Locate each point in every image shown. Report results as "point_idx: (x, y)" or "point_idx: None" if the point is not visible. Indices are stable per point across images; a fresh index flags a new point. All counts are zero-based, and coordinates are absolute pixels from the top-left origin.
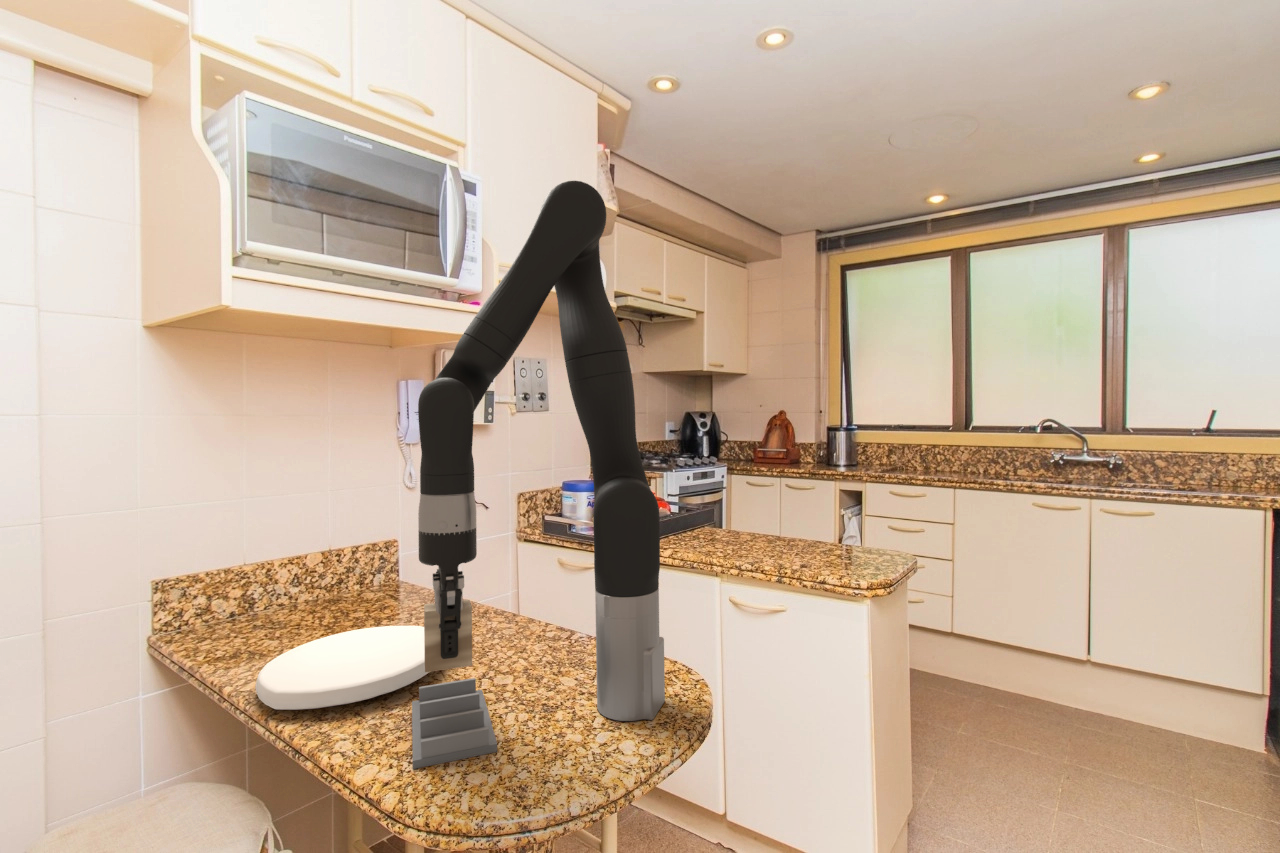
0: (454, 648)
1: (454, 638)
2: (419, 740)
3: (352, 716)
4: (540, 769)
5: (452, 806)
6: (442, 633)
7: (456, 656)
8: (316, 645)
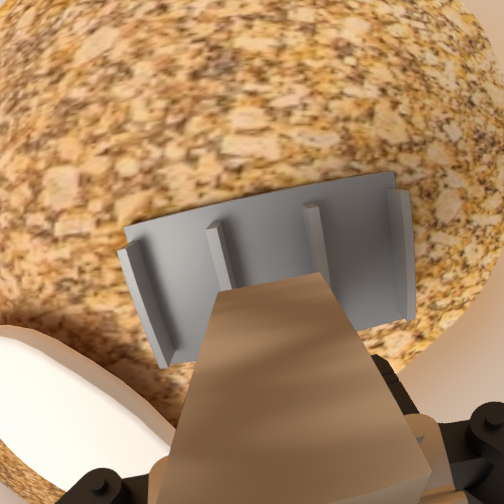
0: (392, 371)
1: (409, 399)
2: None
3: None
4: (445, 102)
5: (490, 235)
6: None
7: None
8: (69, 488)
